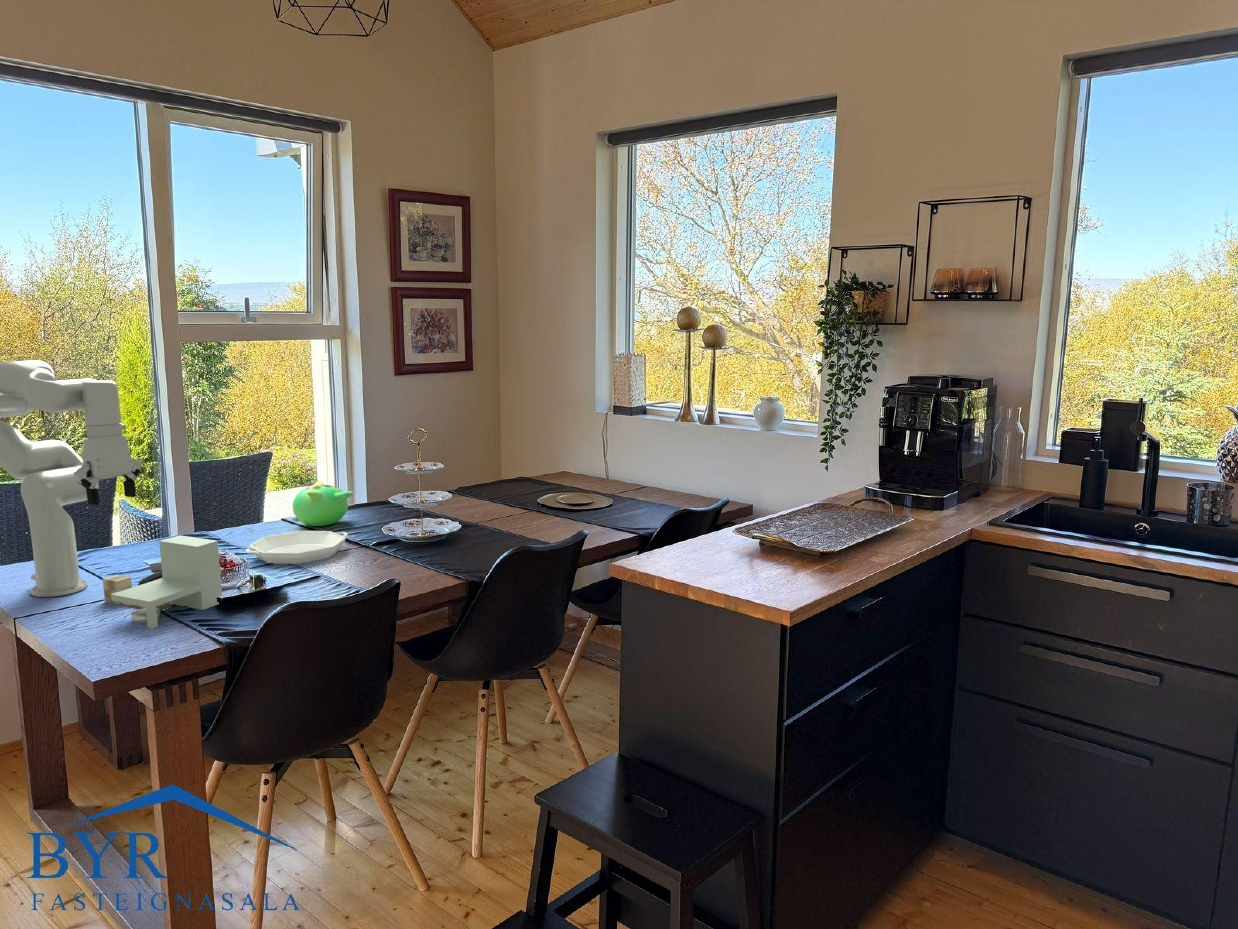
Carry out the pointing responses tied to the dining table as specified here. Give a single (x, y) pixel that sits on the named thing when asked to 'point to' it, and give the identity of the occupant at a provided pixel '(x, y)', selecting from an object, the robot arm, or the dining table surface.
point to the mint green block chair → (153, 577)
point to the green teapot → (321, 504)
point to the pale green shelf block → (180, 578)
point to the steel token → (142, 616)
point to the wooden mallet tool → (120, 584)
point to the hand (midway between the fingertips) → (112, 500)
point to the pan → (297, 547)
